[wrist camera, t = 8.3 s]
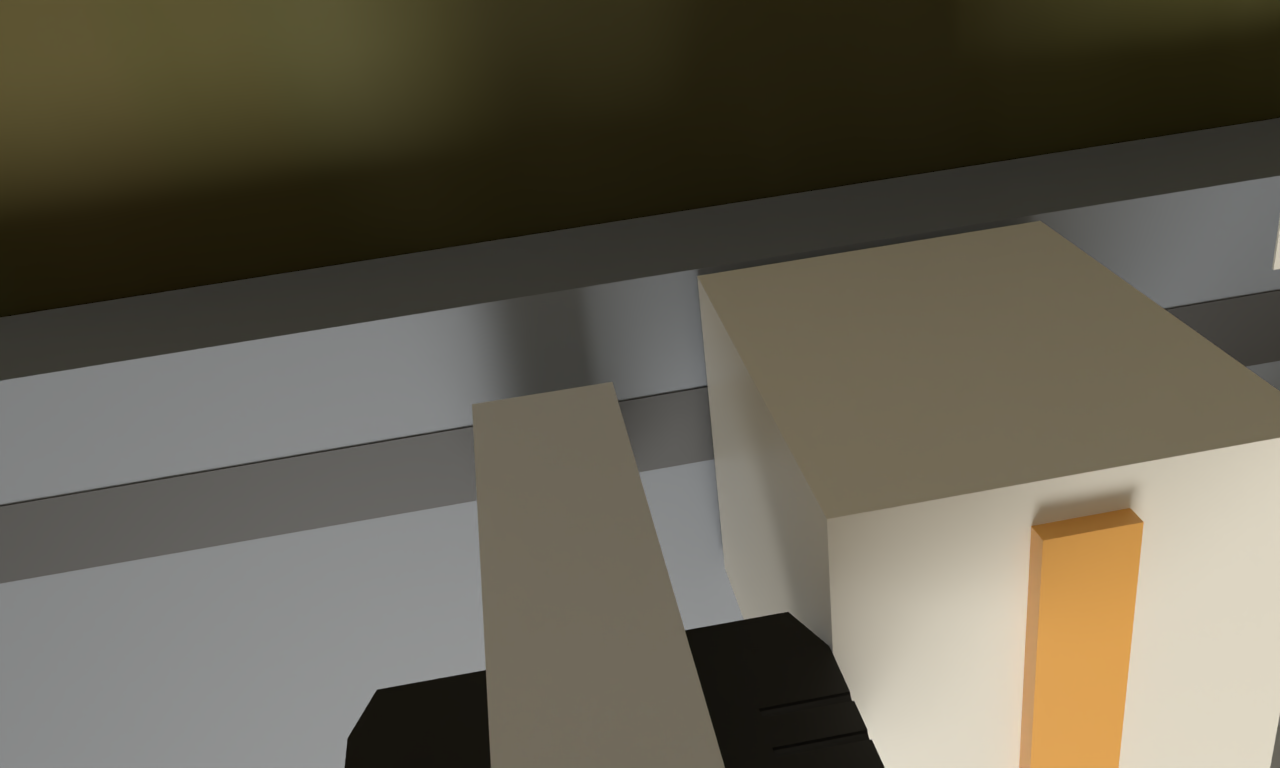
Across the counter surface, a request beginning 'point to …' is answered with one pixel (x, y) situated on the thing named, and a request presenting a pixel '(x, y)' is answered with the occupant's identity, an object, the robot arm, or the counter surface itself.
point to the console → (453, 437)
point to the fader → (1003, 502)
